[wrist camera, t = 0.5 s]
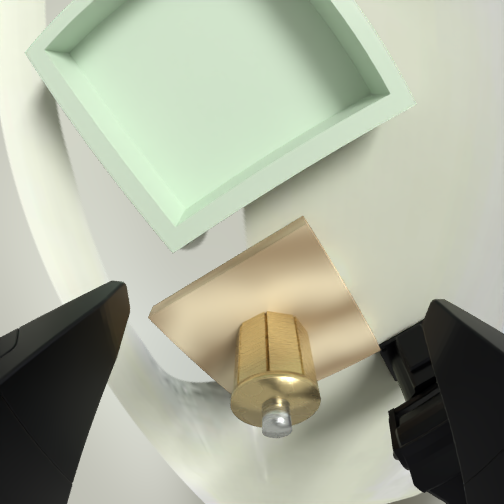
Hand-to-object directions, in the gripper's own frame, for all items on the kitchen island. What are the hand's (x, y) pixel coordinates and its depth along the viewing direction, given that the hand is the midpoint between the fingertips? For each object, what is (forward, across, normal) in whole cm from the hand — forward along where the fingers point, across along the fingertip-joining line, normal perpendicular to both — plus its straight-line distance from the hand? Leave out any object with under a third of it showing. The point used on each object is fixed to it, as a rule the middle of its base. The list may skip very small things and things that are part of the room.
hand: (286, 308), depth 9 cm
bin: (+13, +4, -8) cm, 16 cm away
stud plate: (+14, -1, +12) cm, 18 cm away
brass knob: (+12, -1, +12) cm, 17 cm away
